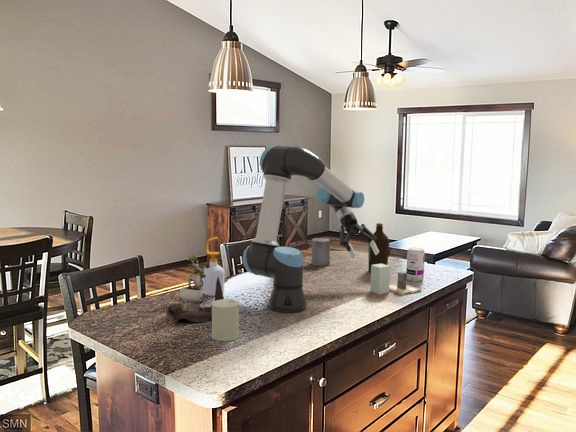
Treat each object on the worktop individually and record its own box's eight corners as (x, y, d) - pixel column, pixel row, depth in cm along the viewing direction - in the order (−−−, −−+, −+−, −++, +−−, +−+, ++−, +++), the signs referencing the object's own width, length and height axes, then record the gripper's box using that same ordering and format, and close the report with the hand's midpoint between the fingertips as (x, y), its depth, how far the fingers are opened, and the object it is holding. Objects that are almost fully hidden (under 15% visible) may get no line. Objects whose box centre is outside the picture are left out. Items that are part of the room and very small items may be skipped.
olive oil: (389, 270, 271) (391, 222, 267) (386, 275, 261) (388, 225, 257) (369, 268, 274) (371, 221, 271) (365, 273, 264) (367, 224, 261)
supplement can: (421, 277, 257) (423, 247, 255) (424, 281, 249) (426, 251, 247) (405, 276, 258) (406, 247, 256) (407, 281, 250) (408, 250, 248)
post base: (400, 295, 226) (401, 277, 225) (382, 288, 237) (383, 271, 236) (421, 291, 233) (422, 274, 231) (402, 285, 243) (403, 268, 242)
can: (244, 336, 176) (244, 301, 174) (224, 343, 169) (223, 307, 168) (226, 329, 182) (226, 296, 181) (205, 336, 175) (205, 301, 174)
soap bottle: (222, 296, 221) (222, 239, 217) (201, 296, 221) (200, 239, 218) (225, 290, 230) (225, 235, 226) (205, 290, 230) (204, 235, 226)
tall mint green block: (378, 294, 227) (379, 267, 225) (370, 291, 232) (371, 264, 230) (388, 292, 230) (390, 266, 228) (380, 289, 235) (381, 263, 233)
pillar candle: (320, 261, 289) (321, 234, 287) (333, 264, 282) (333, 237, 280) (307, 263, 283) (308, 236, 281) (320, 267, 276) (320, 239, 274)
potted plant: (164, 316, 202) (177, 252, 205) (210, 322, 210) (222, 261, 213) (175, 323, 184) (189, 254, 187) (225, 330, 192) (238, 263, 195)
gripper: (363, 221, 258) (382, 256, 247) (322, 224, 245) (340, 262, 234) (371, 211, 252) (390, 247, 242) (328, 214, 240) (347, 252, 229)
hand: (365, 254), depth 238 cm, fingers open, 13 cm apart
